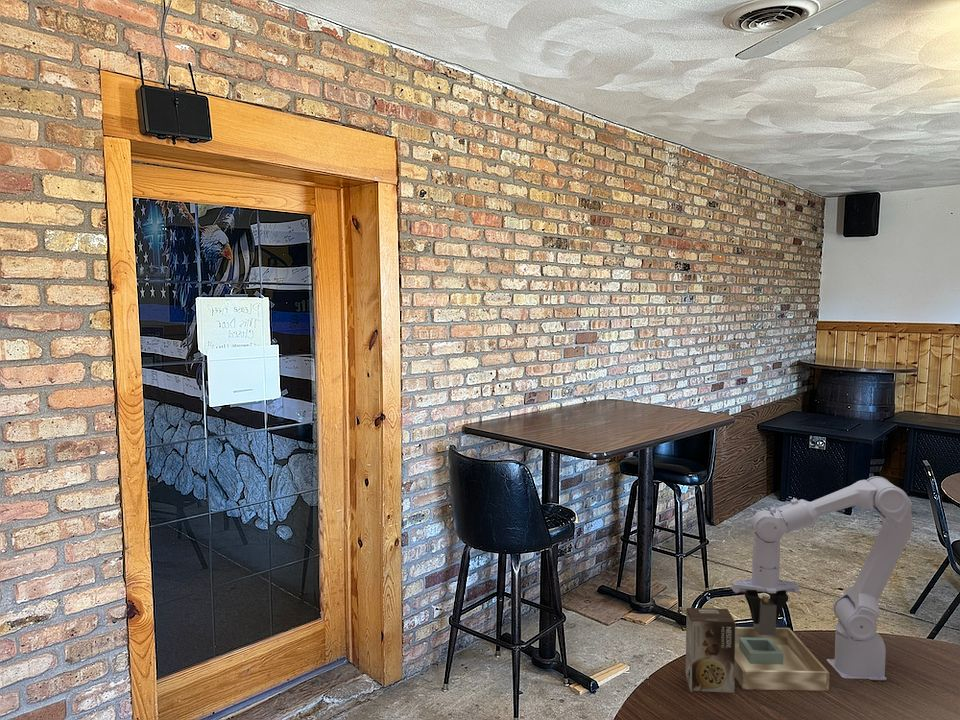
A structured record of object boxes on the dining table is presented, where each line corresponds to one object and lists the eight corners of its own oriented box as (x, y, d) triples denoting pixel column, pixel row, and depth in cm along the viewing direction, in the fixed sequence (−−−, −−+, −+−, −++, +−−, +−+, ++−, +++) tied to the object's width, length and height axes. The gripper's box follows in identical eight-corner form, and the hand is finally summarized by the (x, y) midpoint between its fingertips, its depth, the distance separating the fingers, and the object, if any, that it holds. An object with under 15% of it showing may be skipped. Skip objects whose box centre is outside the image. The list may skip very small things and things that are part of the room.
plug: (769, 627, 155) (770, 594, 154) (775, 635, 151) (776, 601, 151) (753, 627, 155) (754, 594, 154) (759, 635, 152) (760, 600, 151)
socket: (770, 647, 159) (770, 637, 159) (783, 664, 152) (783, 653, 152) (738, 647, 160) (739, 637, 159) (750, 663, 152) (750, 653, 152)
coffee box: (726, 679, 147) (728, 608, 146) (734, 695, 141) (736, 621, 139) (684, 676, 148) (685, 606, 147) (690, 693, 142) (692, 619, 140)
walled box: (788, 645, 161) (789, 627, 161) (828, 693, 141) (829, 672, 141) (713, 644, 162) (713, 626, 162) (742, 691, 142) (743, 671, 142)
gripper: (740, 571, 149) (738, 629, 150) (806, 571, 148) (804, 630, 149) (729, 559, 156) (727, 615, 157) (792, 559, 155) (790, 616, 156)
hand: (764, 621), depth 153 cm, fingers closed on plug, 4 cm apart
